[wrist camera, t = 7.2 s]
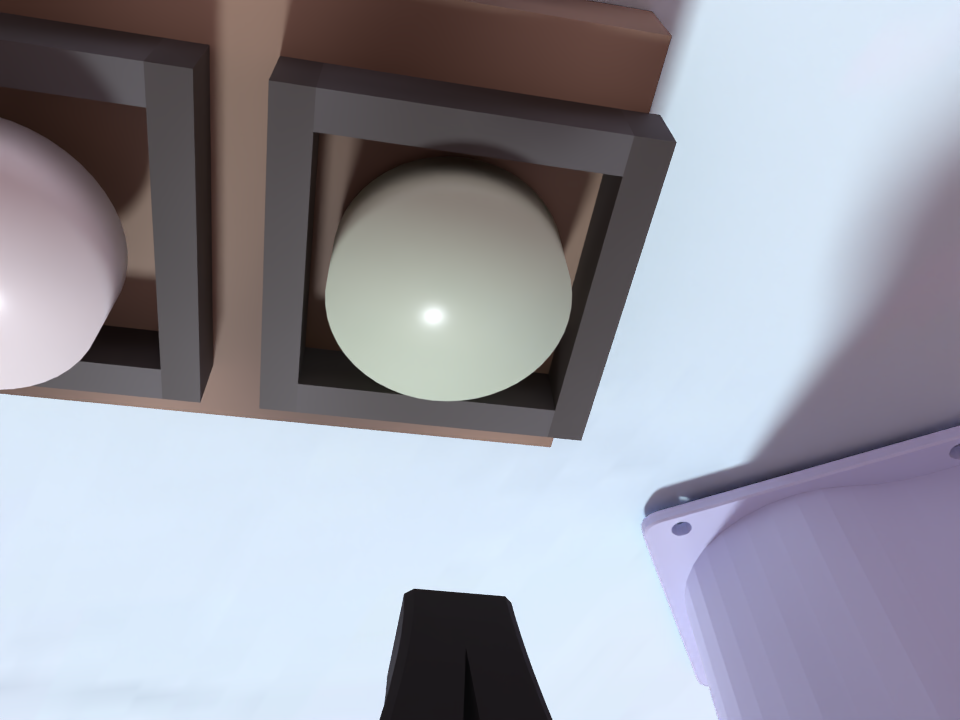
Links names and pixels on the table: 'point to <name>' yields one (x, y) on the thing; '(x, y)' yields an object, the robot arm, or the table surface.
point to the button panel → (332, 182)
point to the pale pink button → (52, 258)
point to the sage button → (447, 280)
